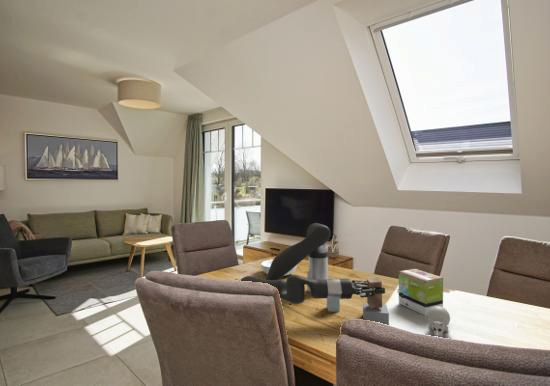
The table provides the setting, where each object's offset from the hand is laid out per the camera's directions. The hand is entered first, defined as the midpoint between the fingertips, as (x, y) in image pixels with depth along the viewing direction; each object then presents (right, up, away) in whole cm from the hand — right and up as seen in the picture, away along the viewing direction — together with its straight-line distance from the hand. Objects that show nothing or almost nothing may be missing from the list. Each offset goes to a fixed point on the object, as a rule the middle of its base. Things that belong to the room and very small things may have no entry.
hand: (382, 288), depth 126 cm
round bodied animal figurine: (+16, -13, -11) cm, 23 cm away
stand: (+21, -12, +33) cm, 41 cm away
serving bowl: (-39, -11, +65) cm, 76 cm away
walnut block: (-3, -7, +1) cm, 7 cm away
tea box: (+20, -12, +12) cm, 26 cm away
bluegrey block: (-17, -12, +11) cm, 24 cm away
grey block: (-3, -13, 0) cm, 13 cm away
